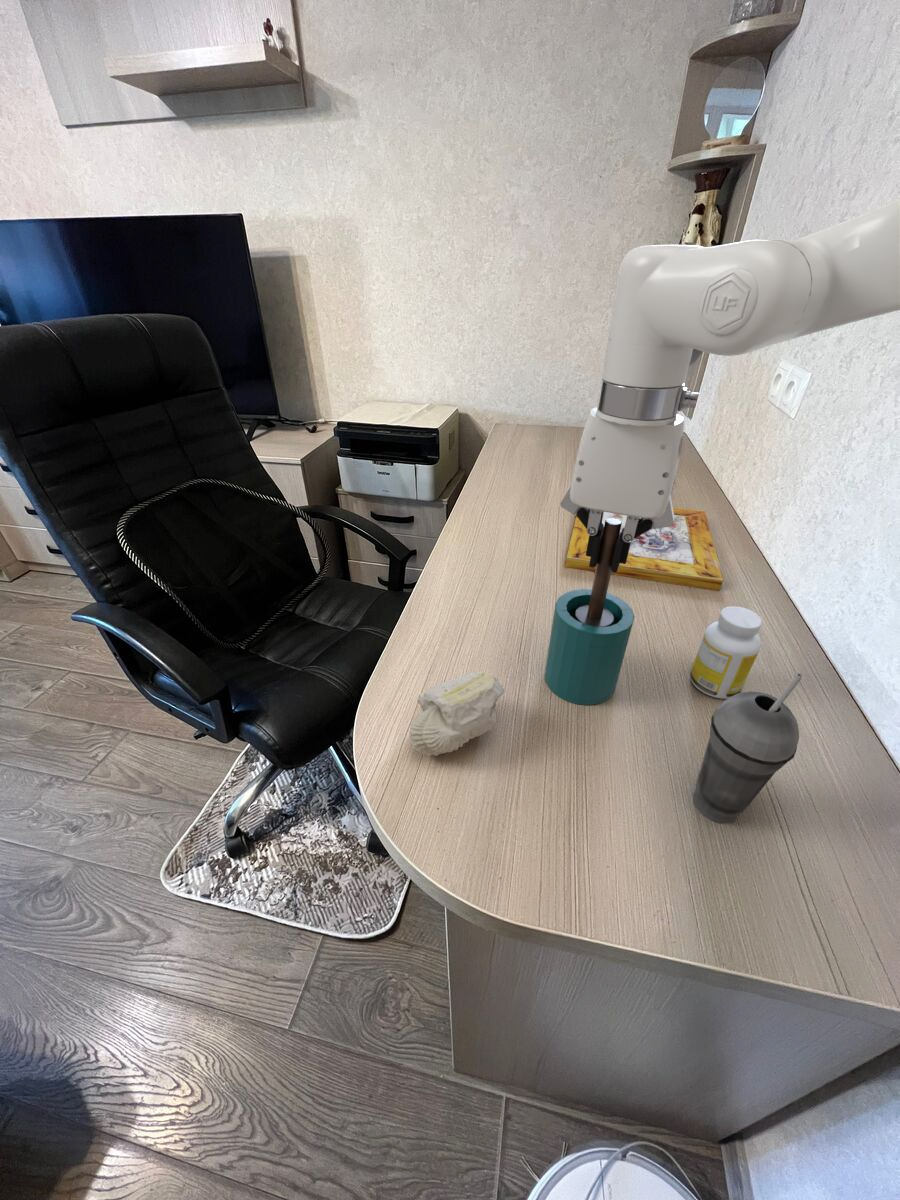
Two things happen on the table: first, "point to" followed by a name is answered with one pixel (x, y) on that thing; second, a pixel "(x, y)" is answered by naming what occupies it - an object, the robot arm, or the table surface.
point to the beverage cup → (744, 752)
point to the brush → (601, 580)
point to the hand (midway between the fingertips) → (605, 563)
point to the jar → (586, 650)
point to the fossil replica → (455, 713)
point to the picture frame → (661, 552)
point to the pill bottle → (727, 653)
